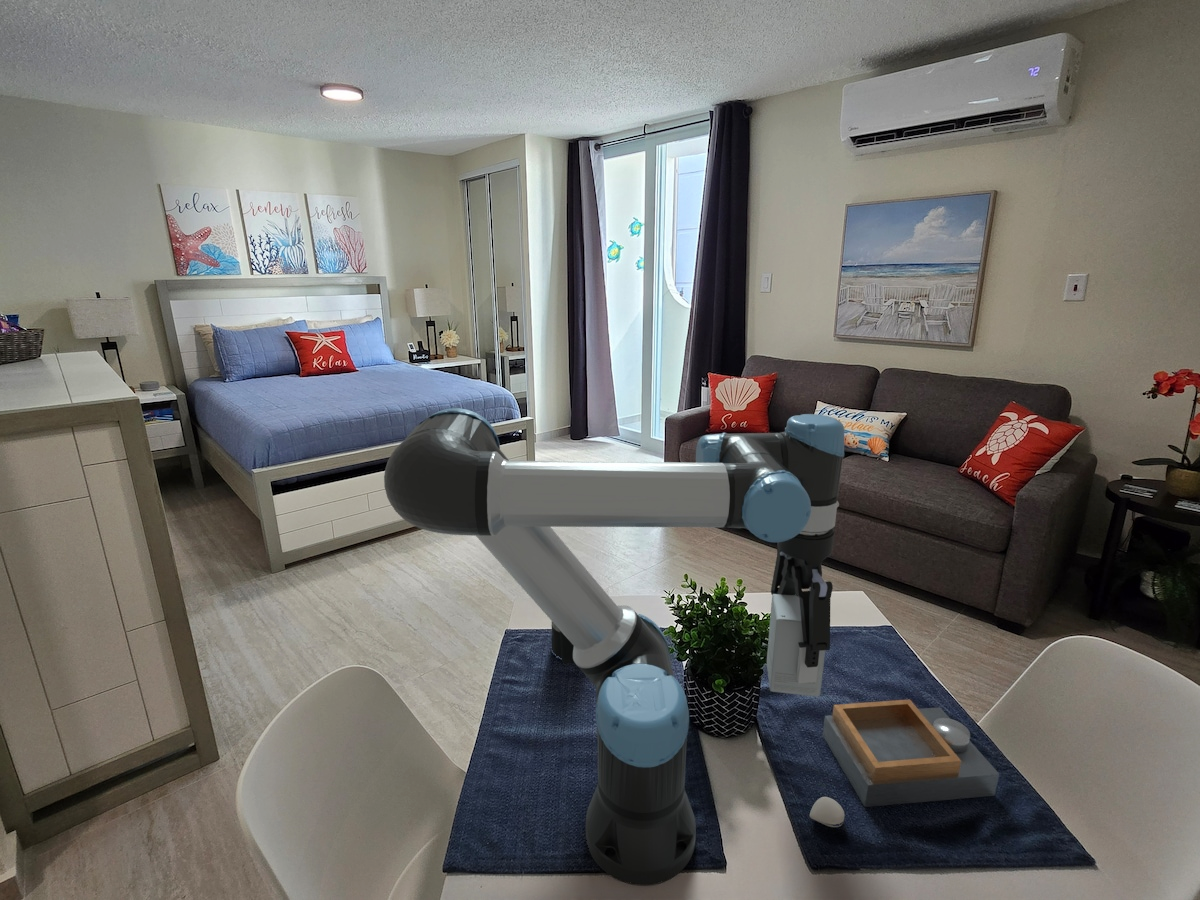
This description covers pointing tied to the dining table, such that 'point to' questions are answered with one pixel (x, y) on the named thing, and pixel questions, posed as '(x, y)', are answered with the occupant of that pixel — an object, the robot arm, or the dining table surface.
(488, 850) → the dining table surface
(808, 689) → the supplement box
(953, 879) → the dining table surface
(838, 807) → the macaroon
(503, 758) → the dining table surface
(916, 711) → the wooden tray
